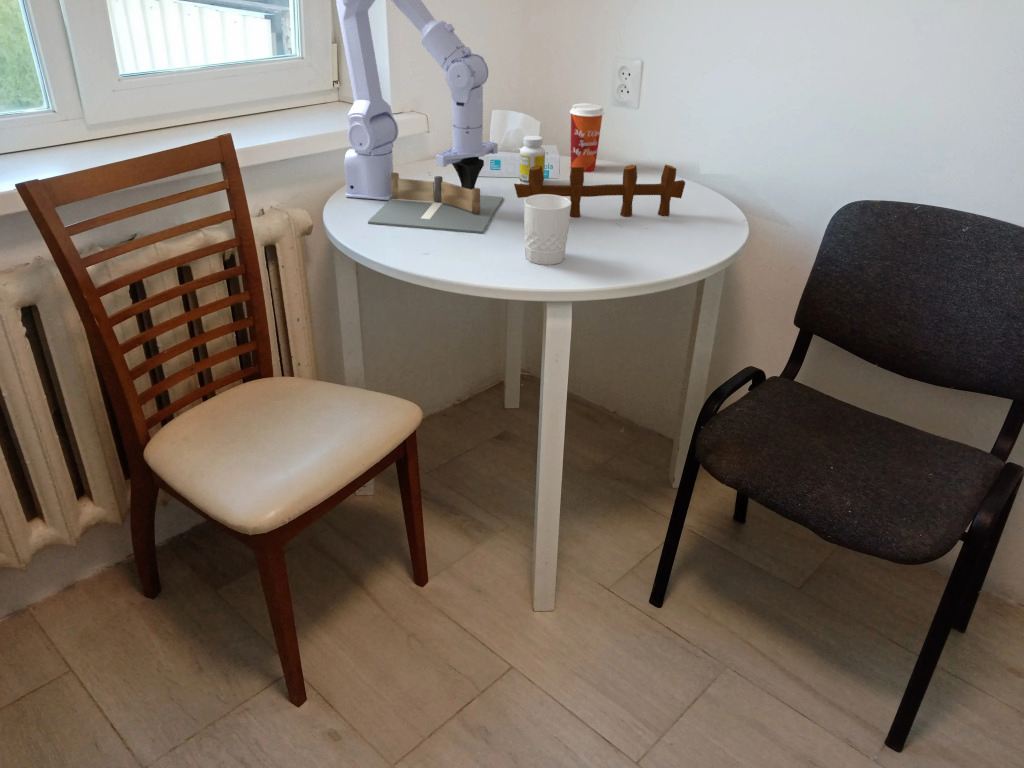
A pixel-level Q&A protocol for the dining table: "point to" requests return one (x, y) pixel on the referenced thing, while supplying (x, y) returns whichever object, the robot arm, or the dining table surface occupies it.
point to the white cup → (546, 228)
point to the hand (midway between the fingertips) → (467, 196)
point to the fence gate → (461, 197)
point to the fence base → (416, 189)
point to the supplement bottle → (531, 157)
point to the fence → (606, 188)
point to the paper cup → (585, 135)
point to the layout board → (436, 215)
